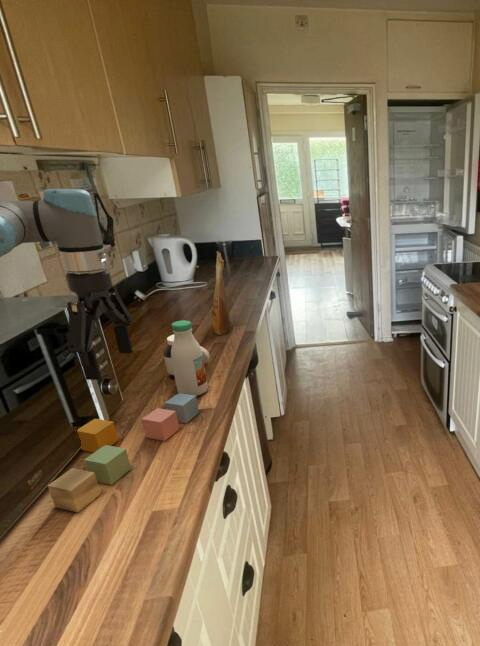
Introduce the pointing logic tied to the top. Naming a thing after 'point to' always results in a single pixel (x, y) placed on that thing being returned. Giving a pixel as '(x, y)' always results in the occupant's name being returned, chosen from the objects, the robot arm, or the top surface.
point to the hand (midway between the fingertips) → (111, 365)
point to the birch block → (74, 490)
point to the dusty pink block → (160, 424)
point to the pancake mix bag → (220, 301)
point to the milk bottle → (187, 360)
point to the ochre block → (97, 435)
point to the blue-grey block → (183, 406)
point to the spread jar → (168, 355)
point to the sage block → (108, 464)
